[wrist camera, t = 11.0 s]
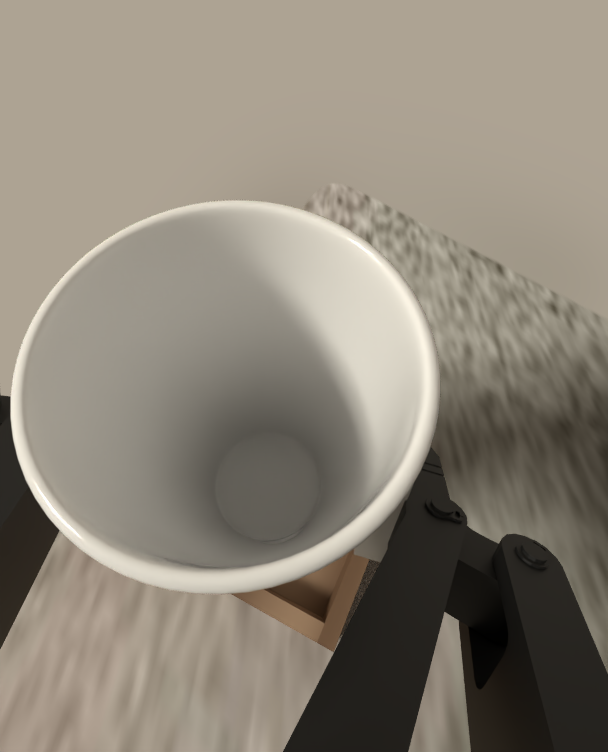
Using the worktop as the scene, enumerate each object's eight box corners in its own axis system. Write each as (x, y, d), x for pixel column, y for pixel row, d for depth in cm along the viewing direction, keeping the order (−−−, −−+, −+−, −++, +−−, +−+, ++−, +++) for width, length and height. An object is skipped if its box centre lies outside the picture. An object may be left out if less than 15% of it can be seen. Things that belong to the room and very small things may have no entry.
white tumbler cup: (261, 398, 22) (217, 140, 8) (365, 478, 20) (525, 326, 7) (170, 502, 20) (-103, 386, 6) (280, 600, 18) (256, 747, 4)
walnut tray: (398, 464, 29) (409, 455, 27) (328, 640, 25) (333, 652, 22) (251, 393, 31) (248, 378, 28) (162, 547, 27) (148, 546, 24)
